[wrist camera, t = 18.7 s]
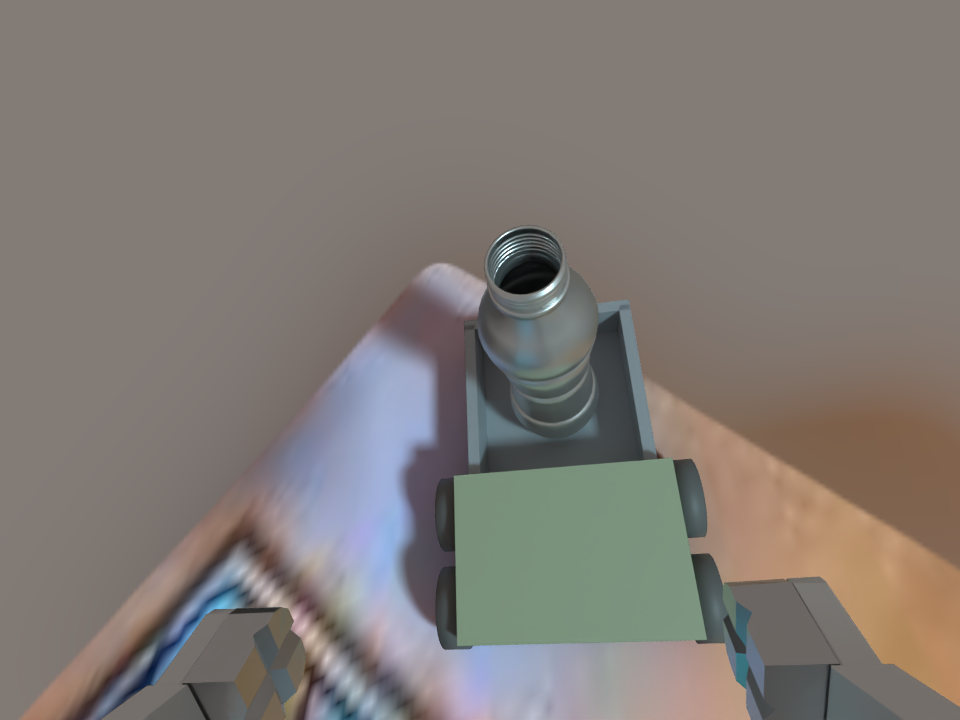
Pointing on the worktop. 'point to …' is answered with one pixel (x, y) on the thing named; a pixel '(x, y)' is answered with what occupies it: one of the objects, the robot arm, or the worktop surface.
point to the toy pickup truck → (573, 519)
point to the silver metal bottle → (540, 330)
